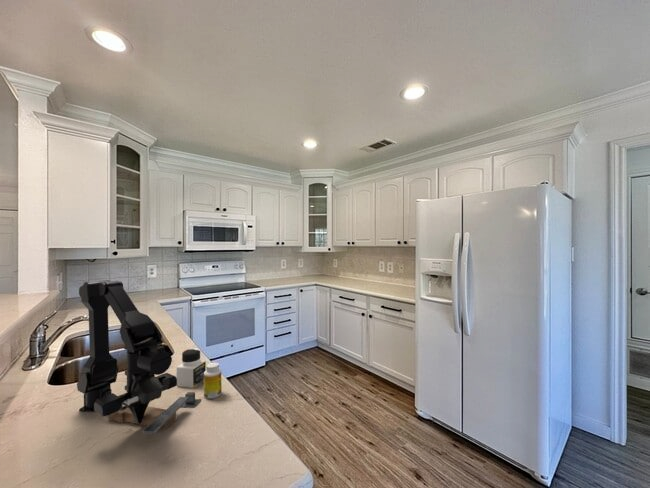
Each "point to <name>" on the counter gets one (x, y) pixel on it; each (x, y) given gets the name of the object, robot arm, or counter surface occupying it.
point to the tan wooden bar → (148, 417)
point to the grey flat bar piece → (173, 411)
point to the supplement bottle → (212, 381)
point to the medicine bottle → (191, 369)
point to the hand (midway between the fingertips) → (139, 423)
